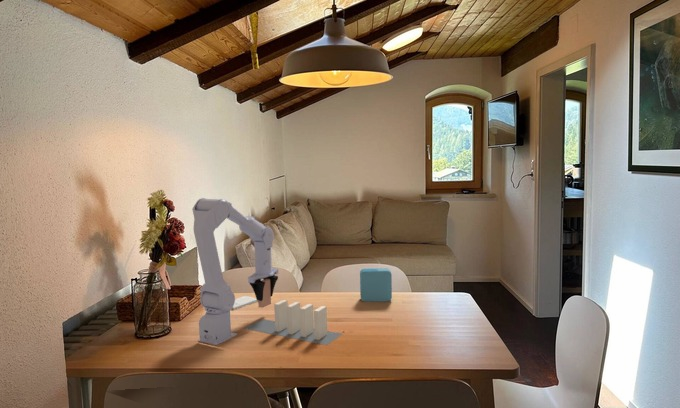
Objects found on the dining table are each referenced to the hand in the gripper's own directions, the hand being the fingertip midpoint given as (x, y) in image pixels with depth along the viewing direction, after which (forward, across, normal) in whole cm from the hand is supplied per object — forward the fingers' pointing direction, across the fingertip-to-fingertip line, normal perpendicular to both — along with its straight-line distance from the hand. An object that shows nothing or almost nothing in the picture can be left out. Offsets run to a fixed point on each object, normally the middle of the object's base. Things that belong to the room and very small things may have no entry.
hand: (264, 298), depth 167 cm
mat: (+7, -8, -17) cm, 20 cm away
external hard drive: (+8, +8, +19) cm, 22 cm away
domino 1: (+3, 0, 0) cm, 3 cm away
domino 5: (+6, -8, -28) cm, 30 cm away
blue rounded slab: (+7, +35, -27) cm, 45 cm away
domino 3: (+6, -8, -18) cm, 21 cm away
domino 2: (+6, -8, -13) cm, 17 cm away
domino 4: (+6, -8, -23) cm, 25 cm away
